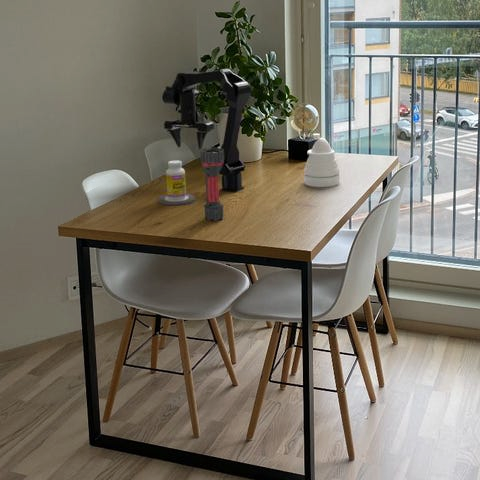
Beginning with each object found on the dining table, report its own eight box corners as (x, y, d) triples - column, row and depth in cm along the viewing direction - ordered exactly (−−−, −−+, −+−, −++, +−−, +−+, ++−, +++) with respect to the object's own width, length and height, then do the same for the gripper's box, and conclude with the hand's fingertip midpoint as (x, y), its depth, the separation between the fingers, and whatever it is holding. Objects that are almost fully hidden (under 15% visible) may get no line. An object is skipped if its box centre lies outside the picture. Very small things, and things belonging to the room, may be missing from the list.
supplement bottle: (171, 201, 304) (169, 164, 301) (164, 197, 310) (161, 161, 306) (189, 198, 307) (187, 162, 303) (181, 194, 313) (179, 158, 309)
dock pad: (202, 197, 311) (202, 195, 311) (182, 207, 300) (182, 204, 300) (171, 194, 317) (171, 192, 317) (150, 203, 307) (150, 200, 306)
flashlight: (218, 224, 280) (215, 152, 273) (198, 221, 284) (194, 150, 277) (231, 217, 286) (229, 147, 279) (211, 214, 290) (208, 146, 283)
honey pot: (299, 185, 323) (299, 137, 318) (310, 177, 334) (310, 130, 329) (333, 188, 318) (333, 138, 313) (343, 179, 330) (343, 131, 324)
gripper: (220, 104, 328) (222, 145, 332) (178, 101, 336) (180, 142, 341) (205, 108, 318) (207, 151, 323) (161, 106, 327) (164, 148, 332)
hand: (189, 148), depth 330 cm, fingers open, 9 cm apart
